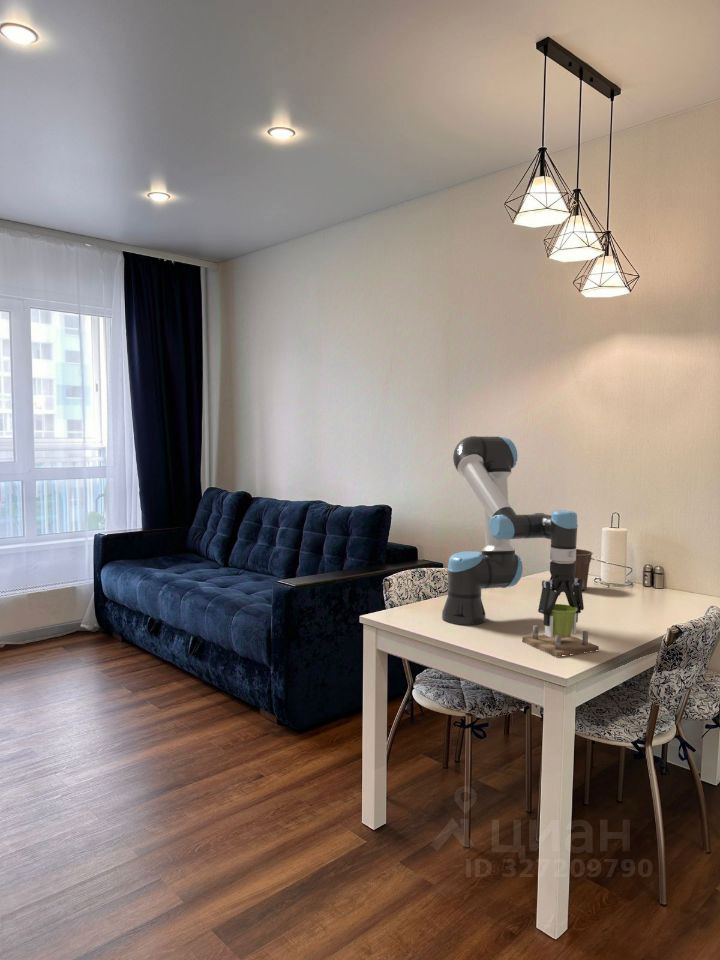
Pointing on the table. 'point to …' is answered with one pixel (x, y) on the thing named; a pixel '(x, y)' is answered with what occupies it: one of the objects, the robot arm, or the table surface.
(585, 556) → the plant pot
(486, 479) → the robot arm
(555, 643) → the stand
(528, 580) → the table surface
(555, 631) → the plant pot
